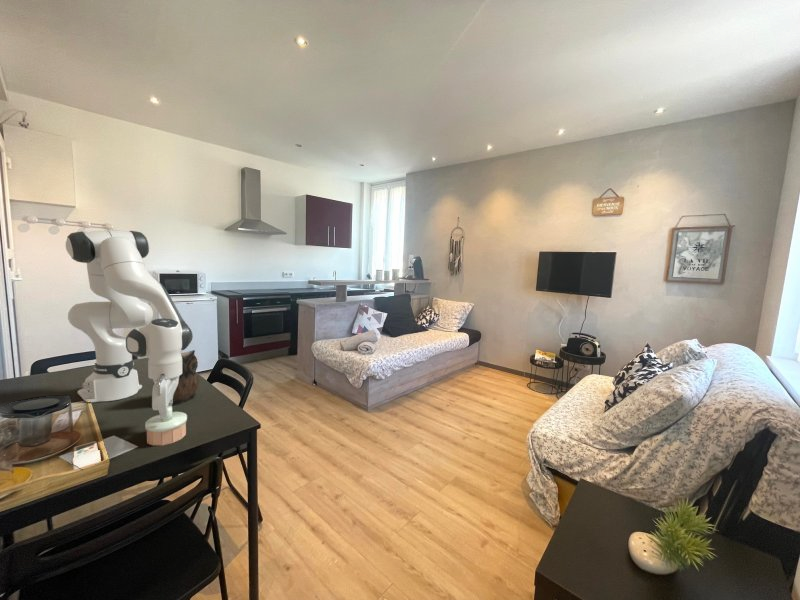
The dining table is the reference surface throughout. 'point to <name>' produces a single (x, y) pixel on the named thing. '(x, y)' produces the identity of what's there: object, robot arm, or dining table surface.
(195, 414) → the dining table surface
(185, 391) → the owl
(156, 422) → the lid
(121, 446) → the mat
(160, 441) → the bowl
